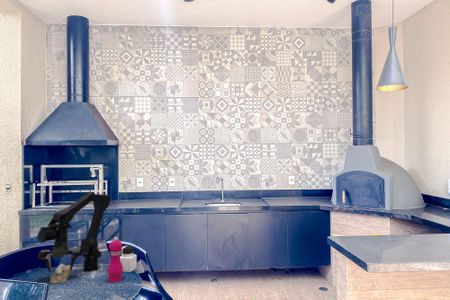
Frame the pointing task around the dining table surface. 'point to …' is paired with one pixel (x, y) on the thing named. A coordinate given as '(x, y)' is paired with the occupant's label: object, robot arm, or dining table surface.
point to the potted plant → (128, 259)
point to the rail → (60, 276)
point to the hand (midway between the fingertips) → (60, 271)
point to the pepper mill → (115, 261)
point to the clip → (60, 269)
